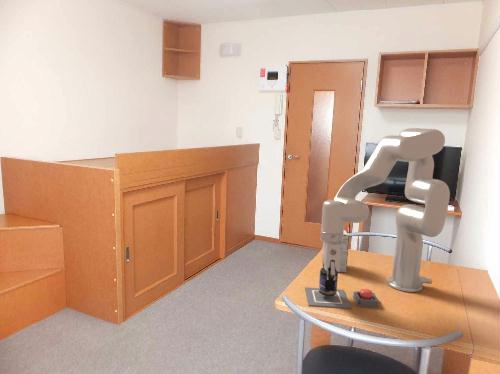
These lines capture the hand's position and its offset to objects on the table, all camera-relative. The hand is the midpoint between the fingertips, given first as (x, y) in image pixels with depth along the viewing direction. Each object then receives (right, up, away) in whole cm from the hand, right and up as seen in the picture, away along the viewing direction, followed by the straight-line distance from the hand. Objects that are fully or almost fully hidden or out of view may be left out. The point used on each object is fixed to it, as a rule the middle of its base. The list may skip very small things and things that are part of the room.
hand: (328, 285), depth 132 cm
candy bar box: (+10, 0, +30) cm, 32 cm away
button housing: (+12, -5, -1) cm, 14 cm away
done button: (+13, -3, -2) cm, 13 cm away
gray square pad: (0, -4, +1) cm, 4 cm away
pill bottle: (0, -3, 0) cm, 3 cm away
